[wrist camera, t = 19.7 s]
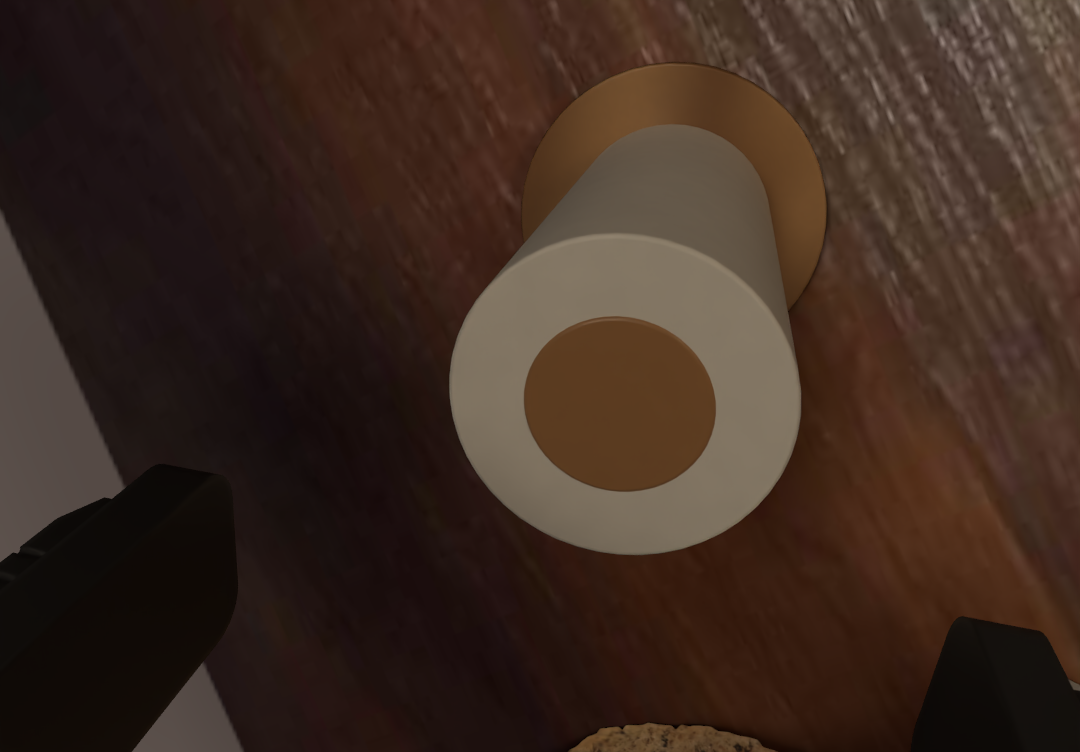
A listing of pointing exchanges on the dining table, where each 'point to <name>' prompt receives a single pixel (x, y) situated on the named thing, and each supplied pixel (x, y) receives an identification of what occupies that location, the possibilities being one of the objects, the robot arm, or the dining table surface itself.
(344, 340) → the dining table surface
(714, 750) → the beige speckled lump
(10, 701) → the robot arm
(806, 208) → the coaster
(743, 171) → the paper towel roll
